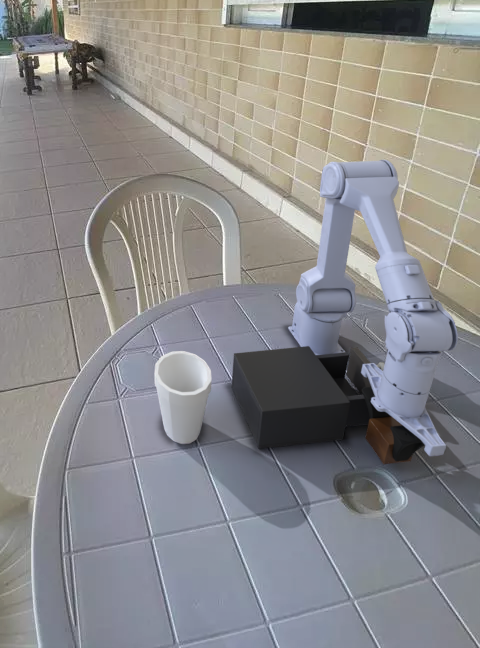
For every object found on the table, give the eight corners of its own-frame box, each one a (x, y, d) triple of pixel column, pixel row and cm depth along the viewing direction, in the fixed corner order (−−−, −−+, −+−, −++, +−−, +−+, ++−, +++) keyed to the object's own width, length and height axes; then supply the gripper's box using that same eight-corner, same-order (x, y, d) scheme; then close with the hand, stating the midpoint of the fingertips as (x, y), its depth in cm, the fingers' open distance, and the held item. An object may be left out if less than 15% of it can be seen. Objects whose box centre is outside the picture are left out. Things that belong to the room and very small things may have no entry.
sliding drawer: (372, 372, 83) (378, 345, 80) (417, 424, 72) (426, 395, 70) (284, 381, 82) (288, 354, 80) (316, 435, 72) (322, 406, 69)
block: (364, 438, 69) (369, 418, 68) (390, 435, 70) (395, 416, 68) (383, 464, 65) (388, 444, 64) (410, 461, 66) (416, 441, 64)
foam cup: (213, 414, 77) (216, 360, 73) (203, 461, 70) (205, 402, 65) (163, 398, 81) (163, 345, 77) (148, 440, 74) (146, 384, 69)
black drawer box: (303, 379, 83) (309, 345, 80) (342, 439, 71) (350, 402, 68) (231, 387, 83) (233, 353, 80) (258, 448, 71) (262, 411, 68)
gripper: (349, 345, 69) (337, 405, 74) (418, 426, 55) (397, 494, 60) (391, 340, 69) (376, 401, 74) (469, 420, 55) (445, 488, 60)
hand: (388, 442), depth 67 cm, fingers closed on block, 4 cm apart
